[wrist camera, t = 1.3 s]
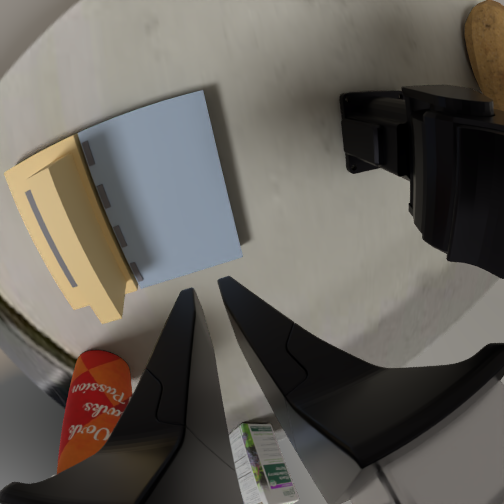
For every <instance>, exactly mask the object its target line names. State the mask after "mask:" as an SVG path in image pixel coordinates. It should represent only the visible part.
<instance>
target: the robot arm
mask: <svg viewBox="0 0 504 504" xmlns="http://www.w3.org/2000/svg"><path fill="white" fill-rule="evenodd" d="M399 95H400V98H399ZM346 97H348V101H347V102H346V100H345V98H346ZM340 105H341V114H342V121H341V124H342V134H343V145H344V152H345V155H346V168H347V170H348V172H350V173H352V174H355V173H360V172H364V171H369V170H373V169H378V168H382V169H384V170H386V171H389V172H391V173H393V174H395V175H397V176H400V177H402V178H404V179H406V180H408V181H410V203H409V212H410V214H411V215H412V216H413V219H414V224H415V225H416V227H417V228H418V229H419V231H420V232H421V233H422V239H423V240H424V241H425V242H427V243H428V244H430V245H431V246H432V247H434V248H436V249H438V250H440V251H442V252H444V253H446V254H447V258H446V259H447V260H448V261H450V262H462V263H467V264H471V265H474V266H478V267H480V268H482V269H484V270H486V271H488V272H490V273H492V274H494V275H496V276H498V277H499V278H502V279H504V111H502V110H498V109H494V106H493V100H492V99H490V98H489V97H487V96H485V95H483V94H481V93H479V92H478V91H476V90H474V89H471V88H465V87H458V86H451V85H422V86H405V87H402V91H368V92H350V93H343V94H341V96H340ZM353 165H354V168H353V169H352V166H353ZM218 285H219V289H220V292H221V296H222V299H223V302H224V305H225V308H226V311H227V314H228V316H229V319H230V322H231V325H232V328H233V331H234V333H235V336H236V339H237V341H238V344H239V346H240V348H241V350H242V352H243V354H244V356H245V358H246V360H247V362H248V364H249V366H250V368H251V370H252V372H253V374H254V376H255V378H256V380H257V382H258V383H259V385H260V387H261V389H262V391H263V393H264V395H265V397H266V399H267V400H268V402H269V404H270V406H271V408H272V410H273V411H274V413H275V415H276V417H277V419H278V421H279V422H280V424H281V426H282V428H283V429H284V431H285V433H286V435H287V437H288V438H289V440H290V442H291V443H292V445H293V447H294V449H295V450H296V452H297V453H298V455H299V457H300V459H301V461H302V462H303V464H304V466H305V468H306V469H307V471H308V473H309V474H310V476H311V477H312V479H313V481H314V482H315V484H316V486H317V487H318V489H319V490H320V492H321V494H322V495H323V497H324V498H325V500H326V502H327V503H328V504H341V503H343V502H346V501H348V500H351V502H352V504H504V385H503V383H502V382H501V381H500V380H501V379H502V377H503V376H504V343H490V344H488V345H486V346H485V347H483V348H482V349H481V350H480V351H479V352H478V353H476V354H475V355H474V356H472V357H471V358H469V359H467V360H465V361H462V362H459V363H455V364H449V365H439V366H427V367H409V368H384V367H380V366H376V365H373V364H370V363H368V362H366V361H364V360H361V359H359V358H357V357H355V356H353V355H351V354H349V353H347V352H345V351H343V350H341V349H339V348H337V347H335V346H333V345H331V344H329V343H327V342H325V341H323V340H321V339H320V338H318V337H316V336H314V335H313V334H311V333H310V332H308V331H307V330H305V329H304V328H302V327H301V326H299V325H298V324H296V323H294V322H293V321H292V320H290V319H289V318H288V317H286V316H285V315H283V314H282V313H281V312H279V311H278V310H276V309H275V308H273V307H272V306H271V305H269V304H268V303H266V302H265V301H264V300H262V299H261V298H259V297H258V296H257V295H255V294H254V293H252V292H251V291H250V290H248V289H247V288H246V287H244V286H243V285H241V284H240V283H239V282H237V281H236V280H235V279H233V278H232V277H230V276H227V277H224V278H221V279H218ZM0 503H1V504H243V499H242V495H241V491H240V486H239V482H238V477H237V473H236V468H235V464H234V459H233V454H232V449H231V444H230V439H229V434H228V429H227V424H226V418H225V413H224V407H223V402H222V396H221V390H220V384H219V378H218V372H217V365H216V359H215V353H214V349H213V345H212V341H211V338H210V334H209V331H208V327H207V324H206V320H205V316H204V313H203V309H202V306H201V304H200V302H199V299H198V297H197V294H196V292H195V290H194V288H189V289H185V290H182V291H181V292H180V294H179V296H178V298H177V300H176V302H175V305H174V307H173V309H172V311H171V313H170V315H169V317H168V319H167V321H166V323H165V326H164V328H163V330H162V332H161V334H160V336H159V339H158V341H157V343H156V345H155V347H154V349H153V352H152V354H151V356H150V358H149V361H148V363H147V365H146V369H144V372H143V374H142V376H141V378H140V381H139V383H138V385H137V387H136V389H135V391H134V393H133V395H132V397H131V399H130V401H129V402H128V404H127V406H126V408H125V410H124V412H123V413H122V415H121V417H120V419H119V420H118V422H117V424H116V426H115V428H114V429H113V431H112V433H111V435H110V437H109V438H108V440H107V441H106V443H105V444H104V446H103V447H102V448H101V449H100V450H99V451H98V452H97V453H95V454H94V455H92V456H90V457H89V458H87V459H85V460H83V461H81V462H79V463H78V464H76V465H74V466H72V467H70V468H68V469H66V470H64V471H62V472H60V473H58V474H57V475H54V476H52V477H51V478H48V479H46V480H44V481H41V482H37V483H32V484H25V483H20V482H12V483H10V484H9V485H7V486H5V487H4V488H3V489H2V490H1V491H0Z"/></svg>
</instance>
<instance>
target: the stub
mask: <svg viewBox="0 0 504 504" xmlns="http://www.w3.org/2000/svg"><path fill="white" fill-rule="evenodd" d="M4 175H5V178H6V180H7V183H8V186H9V188H10V191H11V193H12V196H13V198H14V201H15V203H16V205H17V208H18V210H19V212H20V215H21V217H22V219H23V221H24V223H25V225H26V228H27V230H28V232H29V234H30V236H31V238H32V240H33V242H34V244H35V246H36V248H37V249H38V251H39V253H40V255H41V257H42V259H43V261H44V262H45V264H46V266H47V268H48V270H49V271H50V273H51V275H52V276H53V278H54V280H55V281H56V283H57V285H58V286H59V288H60V290H61V291H62V293H63V294H64V296H65V298H66V299H67V301H68V302H69V304H70V305H71V307H72V308H73V310H76V309H79V308H82V307H85V306H88V305H90V306H91V308H92V309H93V311H94V312H95V314H96V316H97V317H98V319H99V320H100V321H101V323H102V324H104V323H108V322H111V321H115V320H118V319H122V314H123V305H124V297H125V294H127V293H130V292H134V291H137V289H138V282H137V280H136V278H135V276H134V274H133V272H132V270H131V268H130V266H129V264H128V261H127V259H126V257H125V255H124V253H123V251H122V249H121V246H120V244H119V242H118V240H117V238H116V235H115V233H114V231H113V228H112V226H111V224H110V221H109V219H108V217H107V214H106V212H105V209H104V207H103V204H102V202H101V199H100V197H99V194H98V192H97V189H96V186H95V184H94V181H93V178H92V175H91V173H90V170H89V167H88V164H87V161H86V158H85V155H84V152H83V149H82V146H81V143H80V140H79V137H78V133H77V134H75V135H72V136H70V137H68V138H66V139H64V140H62V141H60V142H58V143H56V144H54V145H52V146H50V147H48V148H46V149H44V150H42V151H40V152H39V153H37V154H35V155H33V156H31V157H30V158H28V159H26V160H24V161H23V162H21V163H19V164H18V165H16V166H14V167H13V168H11V169H9V170H8V171H6V172H5V173H4Z"/></svg>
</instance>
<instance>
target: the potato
mask: <svg viewBox="0 0 504 504" xmlns="http://www.w3.org/2000/svg"><path fill="white" fill-rule="evenodd" d="M465 41H466V47H467V51H468V55H469V59H470V63H471V66H472V69H473V72H474V76H475V78H476V80H477V82H478V85H479V87H480V89H481V91H482V93H483V95H485V96H487V97H489V98H490V99H492V100H493V106H494V109H498V110H502V111H504V6H503V5H501V4H500V3H498V2H496V1H493V0H486V1H483V2H481V3H479V4H477V5H476V6H475V7H473V9H472V10H471V12H470V14H469V16H468V18H467V21H466V23H465Z"/></svg>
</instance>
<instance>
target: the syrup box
mask: <svg viewBox="0 0 504 504" xmlns="http://www.w3.org/2000/svg"><path fill="white" fill-rule="evenodd" d="M229 439H230V444H231V449H232V454H233V459H234V464H235V468H236V473H237V477H238V482H239V486H240V490H241V493H242V496H243V500H244V503H245V504H293V503H295V502H297V501H298V500H299V496H298V493H297V491H296V488H295V486H294V483H293V481H292V478H291V476H290V473H289V471H288V468H287V466H286V463H285V461H284V458H283V456H282V453H281V451H280V448H279V445H278V442H277V440H276V437H275V434H274V431H273V428H272V425H271V424H270V423H268V424H246V423H242V424H240V425H239V426H238V427H237V428H236V429H235V430H234V431H233V432H232V433H231V434H230V435H229Z"/></svg>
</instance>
